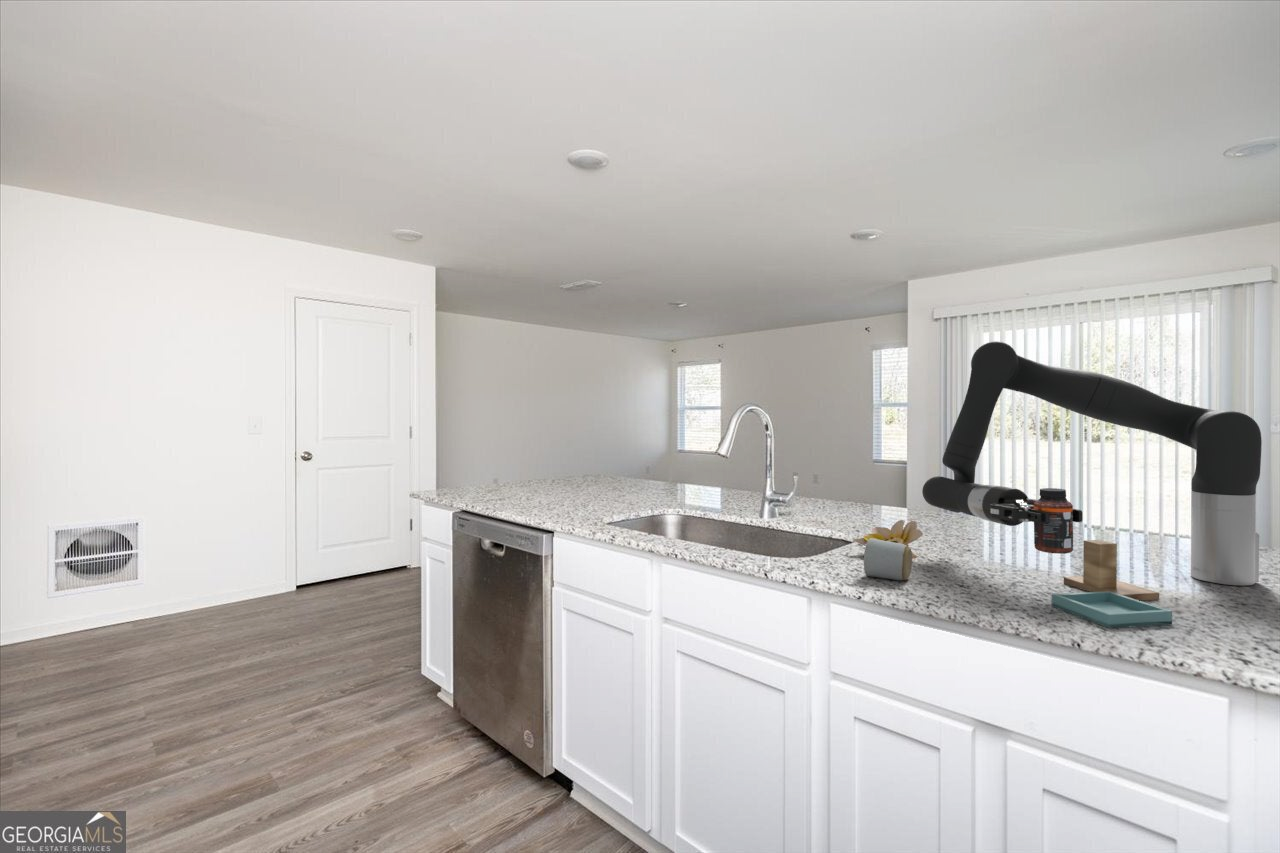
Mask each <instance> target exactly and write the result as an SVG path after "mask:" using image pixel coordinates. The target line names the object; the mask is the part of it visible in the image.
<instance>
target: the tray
mask: <svg viewBox="0 0 1280 853" xmlns="http://www.w3.org/2000/svg"><path fill="white" fill-rule="evenodd" d="M1052 606H1053V607H1052ZM1051 607H1052V608H1055V609H1058V610H1061V611H1064V612H1066V613H1069V614H1071V615H1074V616H1076V617H1078V616H1079V618H1081V617H1082V618H1081V619H1083V620H1086V619H1087V621H1089V620H1090V622H1091V621H1093V622H1092V623H1094V622H1095V623H1094V624H1097V623H1098V624H1097V625H1099V624H1100V625H1099V626H1102V627H1105V628H1107V629H1116V628H1117V629H1120V628H1119V627H1123V628H1130V627H1129V626H1139V627H1152V626H1153V625H1155V626H1169V625H1168V624H1171V625H1173V610H1170V609H1167V608H1164V607H1161V606H1158V605H1155V604H1152V603H1147V602H1145V601H1143V600H1140V601H1139V600H1136V599H1133V598H1129V597H1126V596H1123V595H1120V594H1117V593H1114V592H1111V591H1102V592H1088V591H1085V592H1069V593H1065V592H1064V593H1052V594H1051ZM1153 627H1154V626H1153Z"/></svg>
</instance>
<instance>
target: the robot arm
mask: <svg viewBox="0 0 1280 853" xmlns="http://www.w3.org/2000/svg"><path fill="white" fill-rule="evenodd" d="M970 367H971V370H970V377H969V382H968V387H967V392H966V395H965V398H964V401H963V404H962V406H961V409H960V412H959V414H958V417H957V420H956V422H954V426H953V429H952V430H951V434H950V436H949V438H948V442H947V444H946V448H945V451H944V453H943V455H942V465H944V466H945V467H946V468H948V469H950V470H951V471H953V478H949V477H945V476H940V475H939V476H933V477H931V478H928V479H927V480H926V481H925V482H924V484H923V487H922V491H921V492H922V497H923V499H924V501H925V502H926V503H927V504H929V505H930V506H932V507H935V508H939V509H942V510H944V511H949V512H952V513H955V514H956V513H958V514H959V513H961V514H966V515H967V516H972V517H975V518H979V519H982V520H984V521H987V522H992V523H996V524H1000V525H1001V524H1002V525H1005V526H1008V527H1016V526H1019V525H1021V524H1022V523H1029V522H1033V523H1034V522H1037V523H1042V524H1049V512H1047V511H1042V510H1037V509H1034V503H1035V501H1037V500H1038V499H1036V498H1029V497H1028V496H1027V494H1026V493H1025V492H1024V491H1023V490H1021V489H1018V488H1014V487H1008V486H1001V485H996V484H980V483H975V480H976V466H977V465H978V464H977V463H978V461H979V458H980V455H981V453H982V450H983V446H984V444H985V442H986V437H987V435H988V431H989V426H990V425H991V424H990V423H991V420H992V417H993V413H994V410H995V407H996V405H997V402H998V399H999V398H1000V395H1001V393H1002V392H1003V390H1004V389H1006V390H1010V391H1014V392H1019V393H1022V394H1026V395H1030V396H1033V397H1035V398H1038V399H1040V400H1043V401H1046V402H1047V403H1050V404H1052V405H1055V406H1058V407H1060V408H1063V409H1066V410H1069V411H1071V412H1074V413H1077V414H1080V415H1082V416H1085V417H1088V418H1091V419H1093V420H1097V421H1102V422H1104V423H1105V422H1106V423H1109V424H1113V425H1115V426H1116V425H1117V426H1120V427H1125V428H1130V429H1135V430H1140V431H1145V432H1149V433H1153V434H1156V435H1159V436H1162V437H1164V438H1167V439H1169V440H1172V441H1174V442H1177V443H1179V444H1181V445H1184V446H1186V447H1189V448H1191V449H1193V450H1195V452H1196V453H1195V457H1196V458H1195V461H1196V462H1195V469H1194V474H1193V476H1192V478H1191V491H1190V492H1191V493H1190V494H1191V502H1190V503H1191V508H1190V509H1191V510H1190V512H1191V514H1190V515H1191V516H1190V519H1191V520H1190V524H1191V525H1190V576H1191V578H1193V579H1197V580H1200V581H1205V582H1209V583H1213V584H1214V583H1215V584H1221V585H1230V586H1253V585H1255V583H1259V582H1260V580H1259V579H1260V534H1259V533H1258V532H1256V530H1257V529H1256V528H1257V526H1256V521H1257V520H1256V519H1257V516H1256V515H1257V512H1256V511H1257V507H1256V506H1257V505H1256V504H1257V485H1258V482H1259V480H1260V476H1261V465H1262V463H1261V461H1262V444H1263V443H1262V441H1263V440H1262V432H1261V429H1260V426H1259V424H1258V423H1257V421H1256V420H1255V419H1254V418H1252V417H1251V416H1250V415H1248V414H1245V413H1243V412H1240V411H1235V410H1233V411H1232V410H1214V409H1210V408H1204V407H1200V406H1199V407H1198V406H1194V405H1190V404H1186V403H1181V402H1177V401H1175V400H1170V399H1169V398H1166V397H1163V396H1161V395H1159V394H1156V393H1154V392H1153V391H1150V390H1148V389H1146V388H1144V387H1141V386H1139V385H1136V384H1134V383H1131V382H1129V381H1126V380H1123V379H1120V378H1115V377H1113V376H1109V375H1106V374H1104V373H1103V374H1102V373H1099V372H1095V371H1089V370H1085V369H1079V368H1070V367H1063V366H1062V367H1061V366H1054V365H1047V364H1044V363H1041V362H1037V361H1034V360H1032V359H1029V358H1026V357H1023V356H1021V355H1018V354H1017V352H1016V350H1015V349H1014V347H1012V346H1011V345H1010V344H1008V343H1006V342H1003V341H990V342H986V343H984V344H982V345H981V346H979V347H978V348H977V349H976V350H975V351H974V353H973V355H972V358H971V361H970ZM1072 507H1074V505H1073V504H1072ZM1082 522H1083V511H1082V510H1081V509H1077V508H1073V523H1082Z"/></svg>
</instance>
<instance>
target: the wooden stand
mask: <svg viewBox="0 0 1280 853" xmlns="http://www.w3.org/2000/svg"><path fill="white" fill-rule="evenodd" d="M1117 550H1118V544H1117V543H1116V542H1111V541H1109V540H1108V541H1106V540H1104V539H1103V540H1102V539H1091V540H1090V539H1088V540H1086V539H1083V550H1082V551H1083V555H1082V556H1083V558H1082V560H1083V562H1082V564H1083V569H1082V571H1083V572H1082V575H1083V576H1081V575H1080V576H1079V575H1078V576H1063V584H1064V583H1065V584H1064V585H1067V584H1068V586H1070V585H1071V587H1073V586H1074V587H1073V588H1076V587H1077V589H1079V588H1080V590H1082V589H1084V590H1083V591H1085V590H1087V591H1086V592H1088V591H1090V592H1102V591H1111V592H1114V593H1117V594H1120V595H1123V596H1126V597H1129V598H1133V599H1136V600H1140V601H1155V600H1154V599H1159V600H1160V592H1158V591H1154V590H1151V589H1148V588H1145V587H1142V586H1141V587H1140V586H1138V585H1134V584H1131V583H1127V582H1124V581H1120V580H1117V577H1118V575H1117V574H1118V572H1117V571H1118V569H1117V567H1118V565H1117V564H1118V558H1117V557H1118V556H1117V555H1118V551H1117Z"/></svg>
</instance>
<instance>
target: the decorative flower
mask: <svg viewBox="0 0 1280 853" xmlns="http://www.w3.org/2000/svg"><path fill="white" fill-rule="evenodd" d="M917 525H918V524H917V522H916V521H915V520H914V521H913V520H910V521H909V522H907V523H906V524H905V520H903V519H900V520H897V521H896V522H895V523H894V524H892V526H891V528H888V527H882V526H881V527H880V526H874V527H873V528H872V529H871V533H866V534H865V535H863V537H859V538H853V539H851V541H854V542H856V543H858V544H859V545H862V546H864V547H866V543H867V541H868V540H869V539H870V538H873V539H878V540H883V541H889V542H894V543H900V544H904V545H907V546H909V547H910V545H909V544H911V543H913V542H915V541H917V540H918V539H919V538H921V537H922V536H924V533H923V532H922V531H921V529H918V527H917ZM917 558H919V556H918V555H916V554H915V552H912V559H917Z"/></svg>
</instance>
